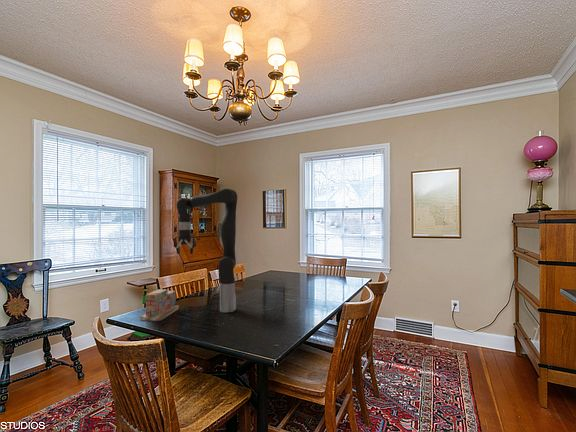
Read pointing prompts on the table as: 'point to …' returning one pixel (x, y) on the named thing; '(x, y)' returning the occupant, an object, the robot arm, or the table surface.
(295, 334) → the table surface
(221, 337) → the table surface
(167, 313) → the birch board
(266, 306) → the table surface
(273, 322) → the table surface
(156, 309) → the stack of blocks
